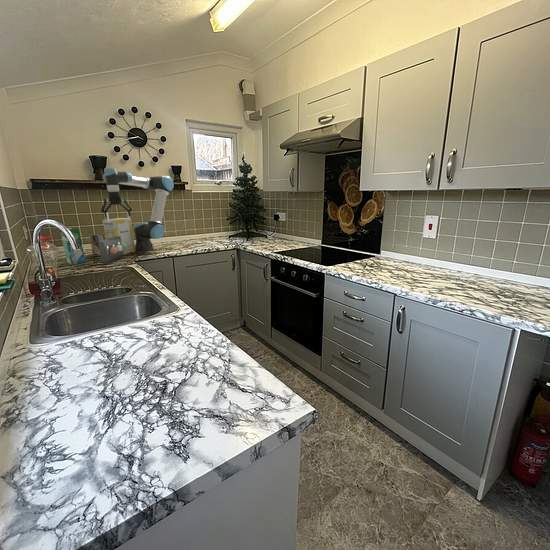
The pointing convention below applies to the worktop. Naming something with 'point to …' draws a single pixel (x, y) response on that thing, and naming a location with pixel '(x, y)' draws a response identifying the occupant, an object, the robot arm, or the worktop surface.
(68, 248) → the milk carton
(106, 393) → the worktop surface
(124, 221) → the pasta box
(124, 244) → the sage green button
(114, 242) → the button panel
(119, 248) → the cream button
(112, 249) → the terracotta button
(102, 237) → the coffee box
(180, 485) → the worktop surface
